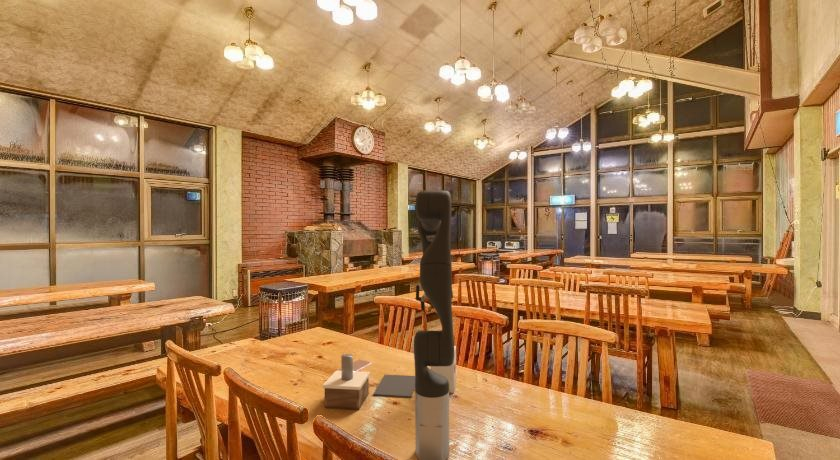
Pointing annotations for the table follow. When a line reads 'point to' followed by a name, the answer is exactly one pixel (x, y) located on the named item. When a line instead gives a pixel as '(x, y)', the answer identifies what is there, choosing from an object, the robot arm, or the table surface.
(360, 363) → the mobile phone
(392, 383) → the rubber mat
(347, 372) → the lid
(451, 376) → the supplement box
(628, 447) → the table surface
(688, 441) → the table surface
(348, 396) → the walnut box
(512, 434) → the table surface
